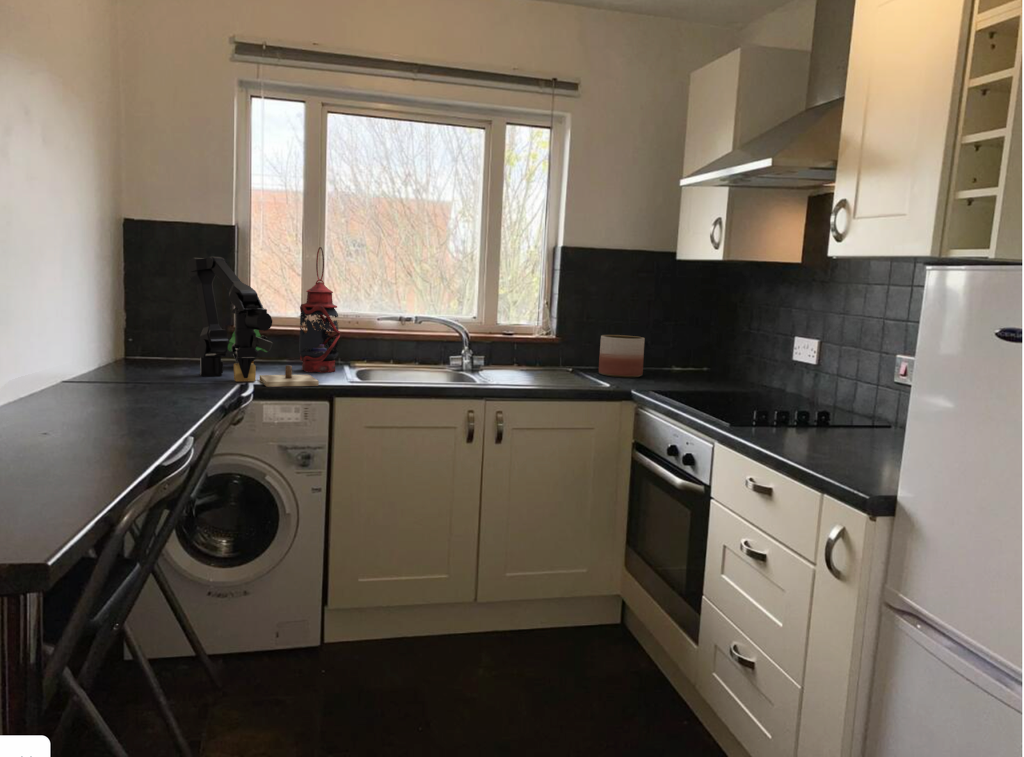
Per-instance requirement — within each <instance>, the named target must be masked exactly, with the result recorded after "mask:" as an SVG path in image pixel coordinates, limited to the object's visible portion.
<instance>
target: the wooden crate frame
mask: <svg viewBox="0 0 1024 757" xmlns="http://www.w3.org/2000/svg"><path fill="white" fill-rule="evenodd" d="M256 367H257V366H256V364H255V363H254V364H253V363H251V366H250V370H249V374H248V378H244V377H243V374H242V371H241V369H240V366H239V364H237V363H233V380H234V381H235V382H256V381H257V380H256V377H257V376H256V375H257V374H256V373H257V372H256V370H257V369H256Z"/></svg>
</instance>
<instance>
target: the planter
mask: <svg viewBox="0 0 1024 757" xmlns="http://www.w3.org/2000/svg"><path fill="white" fill-rule="evenodd" d="M645 342H646V341H645V337H641V336H635V335H634V336H633V335H623V334H621V335H620V334H602V335H600V344H599V345H600V346H599V359H598V373H599V374H600V375H602V376H606V377H611V378H627V379H628V378H629V379H630V378H632V379H633V378H634V379H635V378H639V377H642V376H643V372H644V357H645V355H644V354H645Z"/></svg>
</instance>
